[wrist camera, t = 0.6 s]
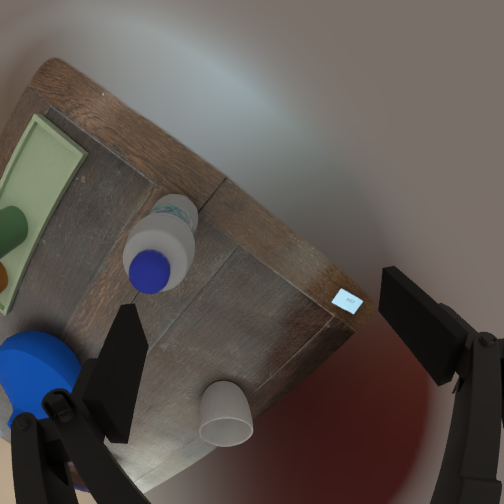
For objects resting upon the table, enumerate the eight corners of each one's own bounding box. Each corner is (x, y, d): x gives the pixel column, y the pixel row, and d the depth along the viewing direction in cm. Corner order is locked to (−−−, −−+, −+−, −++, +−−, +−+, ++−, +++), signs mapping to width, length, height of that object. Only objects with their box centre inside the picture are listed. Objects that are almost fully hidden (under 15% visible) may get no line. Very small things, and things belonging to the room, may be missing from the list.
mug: (214, 368, 52) (215, 411, 43) (256, 385, 55) (263, 426, 45) (182, 407, 55) (180, 447, 46) (221, 420, 58) (224, 459, 48)
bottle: (161, 242, 43) (127, 324, 24) (145, 198, 40) (93, 252, 22) (206, 229, 43) (201, 305, 24) (192, 183, 40) (173, 226, 22)
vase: (106, 345, 48) (74, 430, 30) (85, 401, 53) (63, 474, 35) (19, 297, 43) (-37, 363, 25) (12, 361, 48) (-25, 424, 30)
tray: (41, 113, 33) (34, 113, 32) (89, 153, 37) (83, 154, 35) (-27, 276, 40) (-33, 280, 38) (10, 310, 44) (5, 316, 42)
